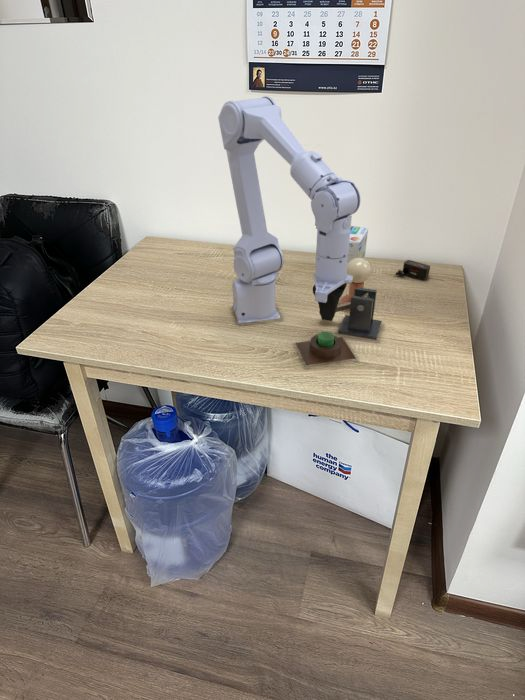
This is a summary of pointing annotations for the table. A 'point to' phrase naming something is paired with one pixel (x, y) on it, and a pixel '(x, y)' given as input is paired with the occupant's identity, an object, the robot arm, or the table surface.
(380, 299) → the table surface
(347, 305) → the switch lever
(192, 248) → the table surface
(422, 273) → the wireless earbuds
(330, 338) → the light button
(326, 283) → the robot arm
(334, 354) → the button block
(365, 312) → the switch bracket
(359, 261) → the globe lamp
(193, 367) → the table surface
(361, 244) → the light bulb box
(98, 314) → the table surface
